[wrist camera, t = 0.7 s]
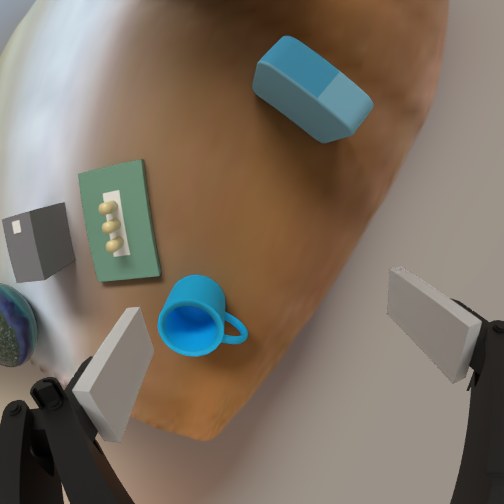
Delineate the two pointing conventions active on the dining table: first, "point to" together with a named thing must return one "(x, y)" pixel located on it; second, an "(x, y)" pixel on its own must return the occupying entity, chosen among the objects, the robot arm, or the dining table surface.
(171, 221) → the dining table surface
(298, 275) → the dining table surface
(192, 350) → the mug
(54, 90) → the dining table surface
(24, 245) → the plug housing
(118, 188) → the header board
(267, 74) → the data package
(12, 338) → the vase
